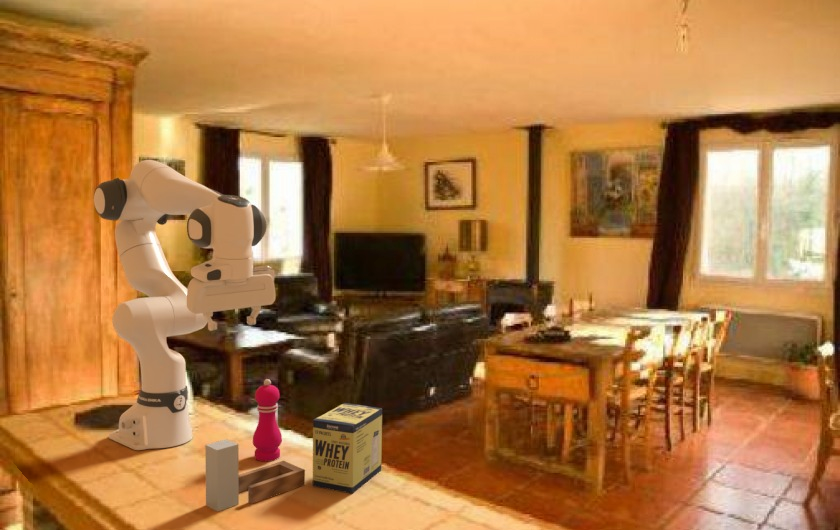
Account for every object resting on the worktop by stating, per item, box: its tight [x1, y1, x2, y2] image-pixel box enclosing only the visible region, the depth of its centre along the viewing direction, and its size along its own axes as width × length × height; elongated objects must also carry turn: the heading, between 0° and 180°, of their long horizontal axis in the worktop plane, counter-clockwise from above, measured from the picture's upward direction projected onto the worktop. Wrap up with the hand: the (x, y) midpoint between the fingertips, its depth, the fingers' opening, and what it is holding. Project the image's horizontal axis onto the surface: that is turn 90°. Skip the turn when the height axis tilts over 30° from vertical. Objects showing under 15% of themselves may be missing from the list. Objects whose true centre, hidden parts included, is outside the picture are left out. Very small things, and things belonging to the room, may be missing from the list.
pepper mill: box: [252, 378, 283, 462], centre depth 166 cm, size 7×7×20 cm
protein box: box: [312, 402, 383, 494], centre depth 154 cm, size 10×16×16 cm
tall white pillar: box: [204, 438, 240, 512], centre depth 139 cm, size 5×4×13 cm
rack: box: [239, 460, 306, 505], centre depth 147 cm, size 14×8×4 cm, turn 138°
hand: (232, 327), depth 152 cm, fingers open, 8 cm apart
